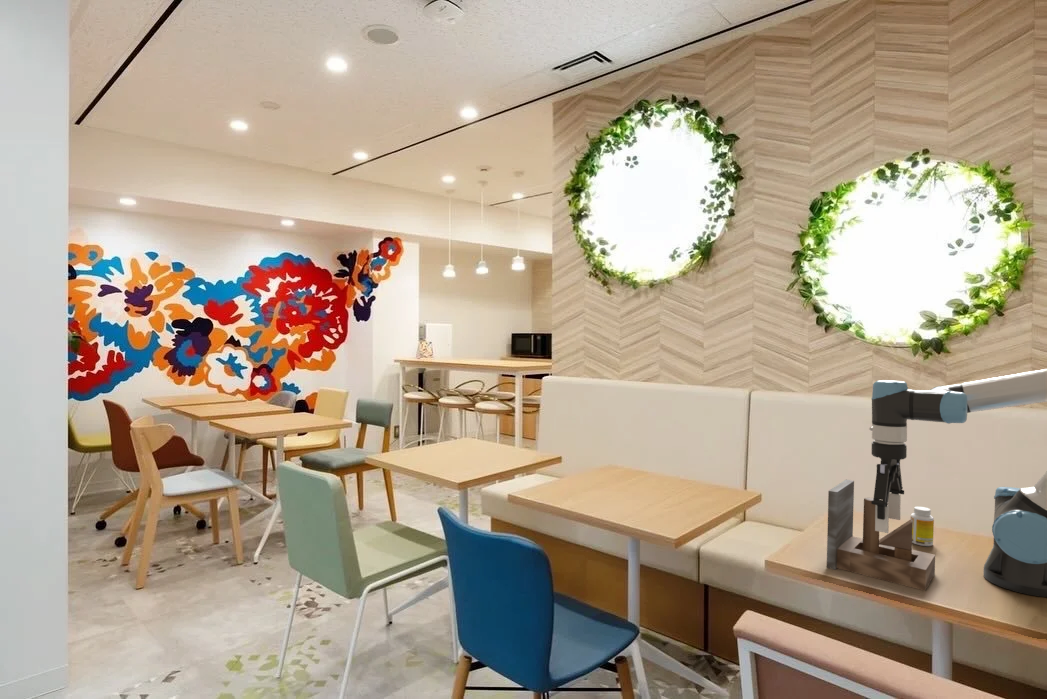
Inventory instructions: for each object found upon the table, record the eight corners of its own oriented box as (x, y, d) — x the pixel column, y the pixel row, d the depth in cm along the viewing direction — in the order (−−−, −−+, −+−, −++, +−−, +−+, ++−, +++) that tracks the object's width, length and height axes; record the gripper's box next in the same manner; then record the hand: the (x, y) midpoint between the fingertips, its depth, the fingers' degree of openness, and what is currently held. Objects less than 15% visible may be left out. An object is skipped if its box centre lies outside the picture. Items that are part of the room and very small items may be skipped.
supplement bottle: (938, 546, 166) (939, 510, 166) (921, 547, 165) (923, 512, 165) (920, 539, 172) (921, 505, 171) (905, 540, 170) (906, 506, 170)
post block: (935, 572, 148) (938, 494, 147) (924, 592, 136) (926, 508, 135) (844, 550, 162) (846, 479, 162) (826, 567, 151) (828, 490, 150)
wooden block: (910, 579, 144) (913, 507, 143) (860, 568, 150) (862, 499, 149) (911, 574, 147) (913, 503, 146) (861, 564, 153) (863, 496, 152)
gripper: (883, 433, 159) (882, 511, 160) (859, 446, 141) (858, 533, 141) (916, 437, 154) (915, 516, 154) (895, 450, 136) (894, 541, 136)
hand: (888, 525), depth 148 cm, fingers open, 13 cm apart
